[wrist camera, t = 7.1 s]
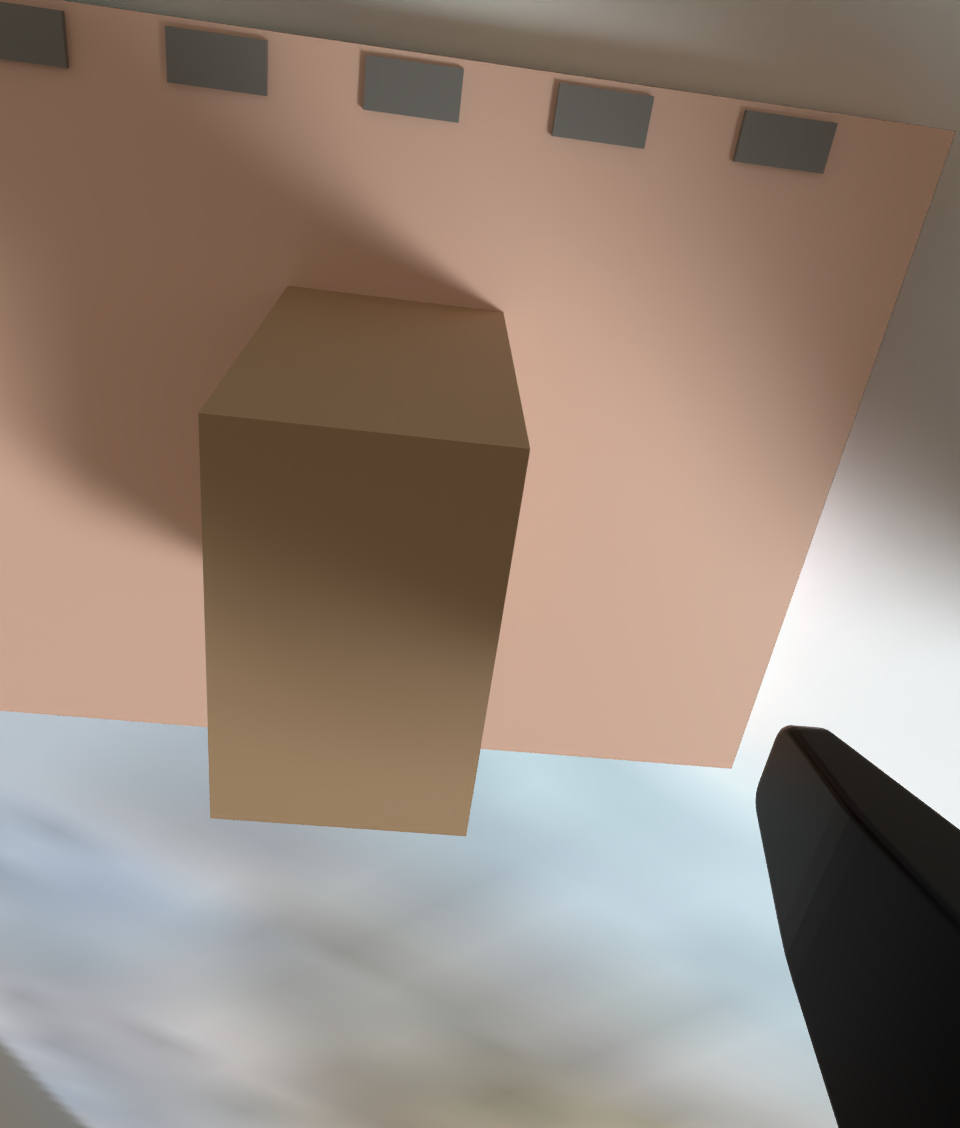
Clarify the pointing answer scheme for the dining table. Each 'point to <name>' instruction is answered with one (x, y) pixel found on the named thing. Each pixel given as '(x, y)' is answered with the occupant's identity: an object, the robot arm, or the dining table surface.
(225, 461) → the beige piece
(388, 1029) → the dining table surface
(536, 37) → the dining table surface
